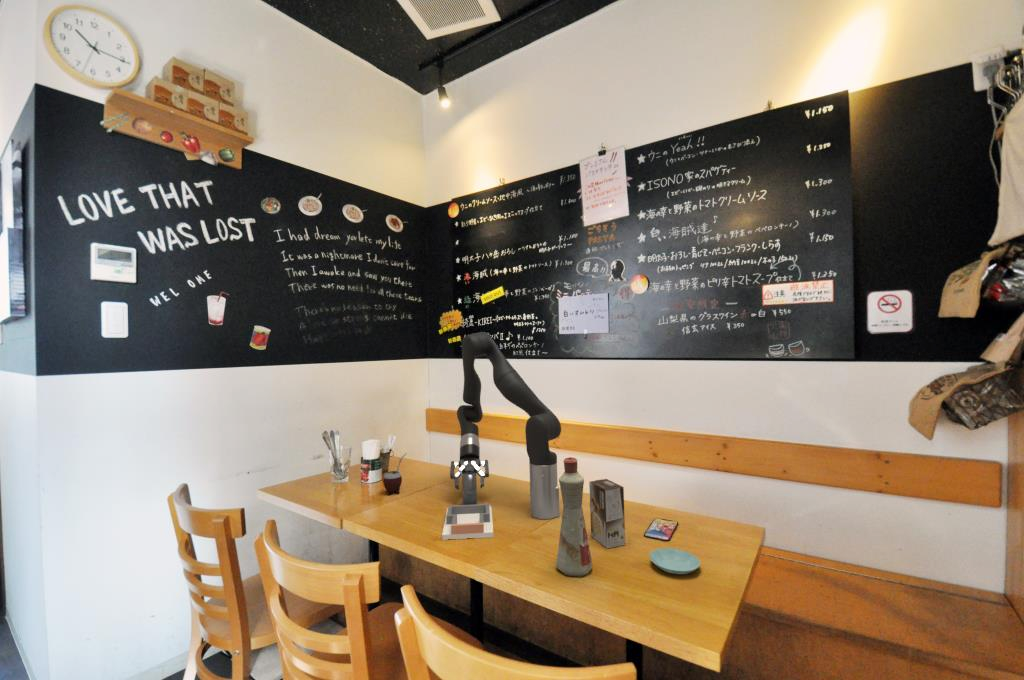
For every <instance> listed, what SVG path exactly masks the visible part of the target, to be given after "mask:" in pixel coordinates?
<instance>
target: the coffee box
mask: <svg viewBox="0 0 1024 680" xmlns="http://www.w3.org/2000/svg"><path fill="white" fill-rule="evenodd" d="M588 484H589V509H590V510H589V512H590V513H589V514H590V515H589V516H590V535H591V538H593V540H595V541H597V542H598V543H600V544H601V545H602V546H604V547H605V548H606V549H610V548H615V547H621V546H625V545H626V526H625V525H626V524H625V523H626V522H625V520H626V519H625V494H624V493H625V491H624V486H622V485H620V484H617V483H615V482H614V481H612V480H610V479H607V478H602V479H596V480H593V481H589V482H588Z"/></svg>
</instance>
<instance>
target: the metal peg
mask: <svg viewBox="0 0 1024 680" xmlns="http://www.w3.org/2000/svg"><path fill="white" fill-rule="evenodd" d="M461 477H462V478H461V479H462V505H476V504H478V498H477V497H478V492H477V491H478V489H477V474H476V472H464V473H462V476H461Z"/></svg>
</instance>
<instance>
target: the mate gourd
mask: <svg viewBox="0 0 1024 680" xmlns="http://www.w3.org/2000/svg"><path fill="white" fill-rule="evenodd" d="M406 455H407V452H406V453H404V455H402V456H401V458H400V459H399V460H398V461H399V462H398V464H397V468H396V470H391V471H387V472H385V473H384V475H383V480H382V483H383V486H384V489H385V493H386V496H387V495H388V496H392V495H400V494H399V493H400V489H401V485H402V482H403V478H402V474H401V472H400V471H399V469H400V466H401V463H402V460H403V459H404V458H405V457H406ZM393 493H394V494H393Z"/></svg>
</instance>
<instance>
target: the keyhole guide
mask: <svg viewBox="0 0 1024 680" xmlns="http://www.w3.org/2000/svg"><path fill="white" fill-rule="evenodd" d="M493 524H494V522H493V512H492V506H491V505H490V504H489V503H480V504H478V503H477V504H476V505H463V504H459V505H458V504H457V505H455V504H454V505H448V507H447V509H446V513H445V519H444V522H443V527H442V533H441V541H449V540H448V539H456V540H468V539H467V538H474V539H491V538H492V539H493V538H494V527H493Z"/></svg>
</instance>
